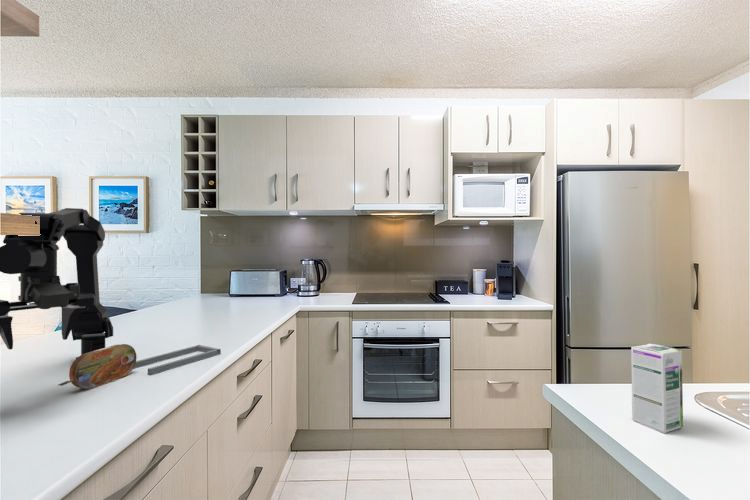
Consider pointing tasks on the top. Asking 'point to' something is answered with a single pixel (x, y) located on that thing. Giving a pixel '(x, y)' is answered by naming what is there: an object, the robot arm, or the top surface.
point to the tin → (102, 366)
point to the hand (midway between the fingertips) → (38, 344)
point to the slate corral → (208, 353)
